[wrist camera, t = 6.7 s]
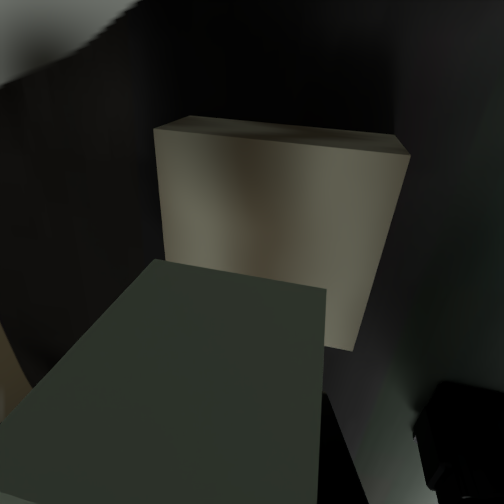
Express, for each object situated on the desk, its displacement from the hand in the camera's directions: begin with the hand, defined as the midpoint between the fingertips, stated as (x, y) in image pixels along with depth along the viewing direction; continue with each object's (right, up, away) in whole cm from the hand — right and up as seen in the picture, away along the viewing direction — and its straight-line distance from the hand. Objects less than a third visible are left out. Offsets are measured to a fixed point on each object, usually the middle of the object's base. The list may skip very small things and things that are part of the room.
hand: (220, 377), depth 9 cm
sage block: (0, +1, +1) cm, 2 cm away
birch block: (+2, +5, +9) cm, 11 cm away
